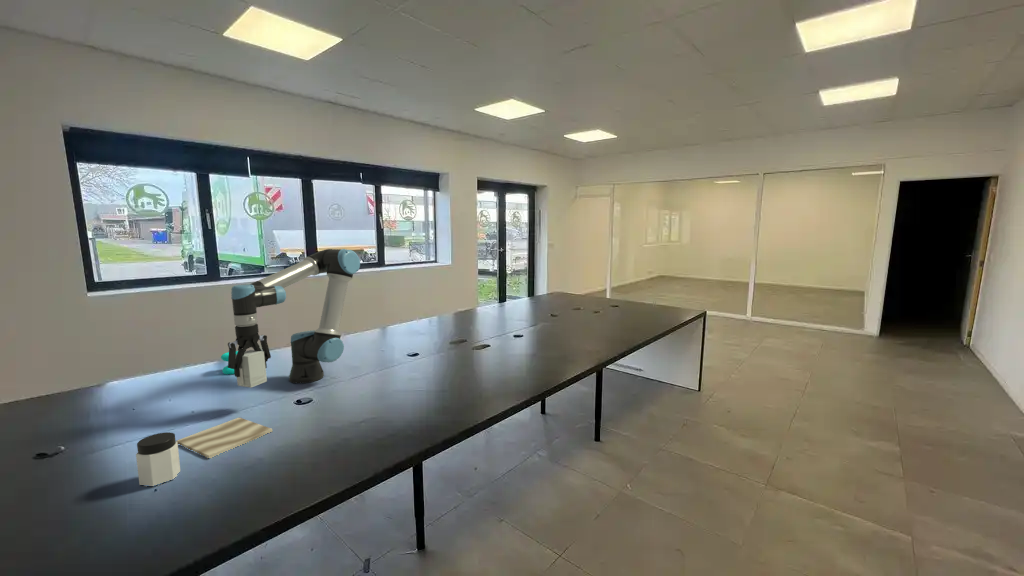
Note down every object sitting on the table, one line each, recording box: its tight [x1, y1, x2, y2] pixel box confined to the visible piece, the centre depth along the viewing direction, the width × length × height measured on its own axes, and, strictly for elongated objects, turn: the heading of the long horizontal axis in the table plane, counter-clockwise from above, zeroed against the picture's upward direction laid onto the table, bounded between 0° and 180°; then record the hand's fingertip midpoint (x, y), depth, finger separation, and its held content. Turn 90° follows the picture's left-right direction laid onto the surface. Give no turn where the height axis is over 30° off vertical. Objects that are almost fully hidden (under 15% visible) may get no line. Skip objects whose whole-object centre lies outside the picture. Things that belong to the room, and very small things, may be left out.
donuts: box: [220, 350, 238, 375], centre depth 206 cm, size 10×10×10 cm
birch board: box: [176, 417, 273, 459], centre depth 139 cm, size 20×20×1 cm
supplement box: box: [235, 349, 268, 388], centre depth 160 cm, size 7×7×13 cm
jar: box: [135, 431, 181, 486], centre depth 115 cm, size 9×8×12 cm
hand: (252, 380), depth 161 cm, fingers closed on supplement box, 8 cm apart
